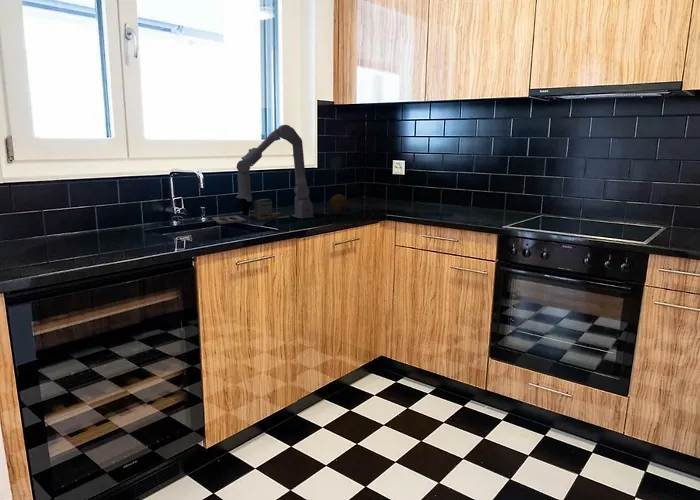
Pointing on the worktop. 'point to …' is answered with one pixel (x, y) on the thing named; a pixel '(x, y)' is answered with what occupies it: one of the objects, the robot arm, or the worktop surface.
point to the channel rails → (264, 217)
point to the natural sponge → (339, 203)
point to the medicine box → (262, 208)
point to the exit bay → (280, 217)
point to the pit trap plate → (228, 219)
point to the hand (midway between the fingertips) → (245, 215)
